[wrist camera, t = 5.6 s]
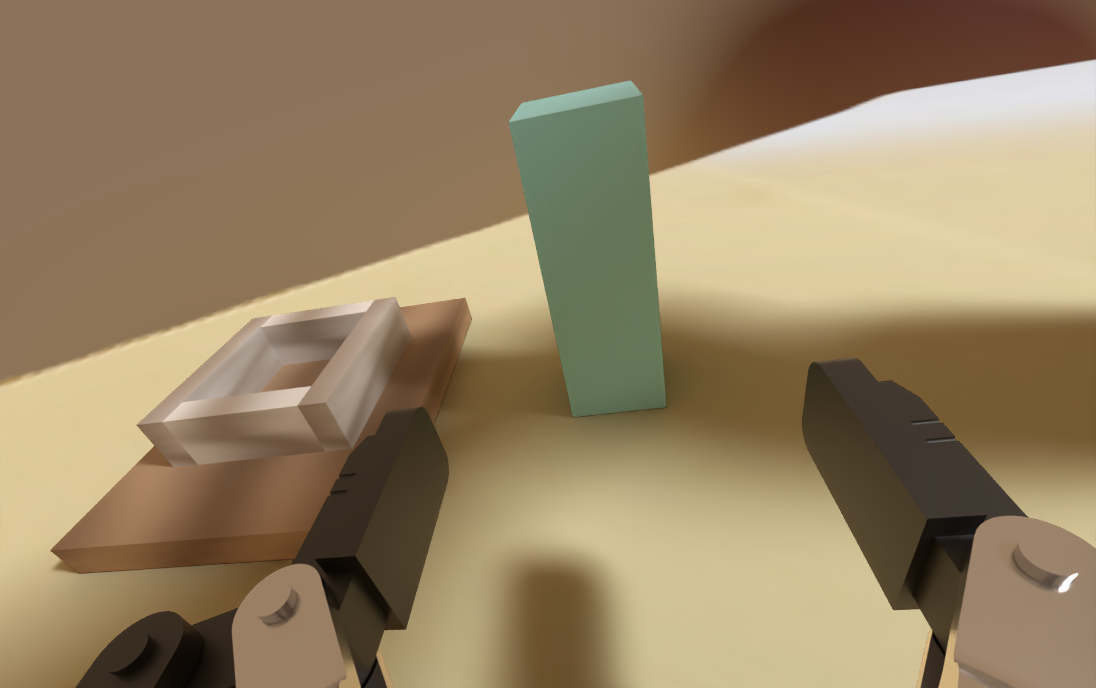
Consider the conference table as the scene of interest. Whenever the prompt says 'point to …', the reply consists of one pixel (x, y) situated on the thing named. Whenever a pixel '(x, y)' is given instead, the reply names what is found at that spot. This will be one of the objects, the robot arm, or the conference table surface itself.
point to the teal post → (595, 242)
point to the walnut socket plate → (267, 434)
